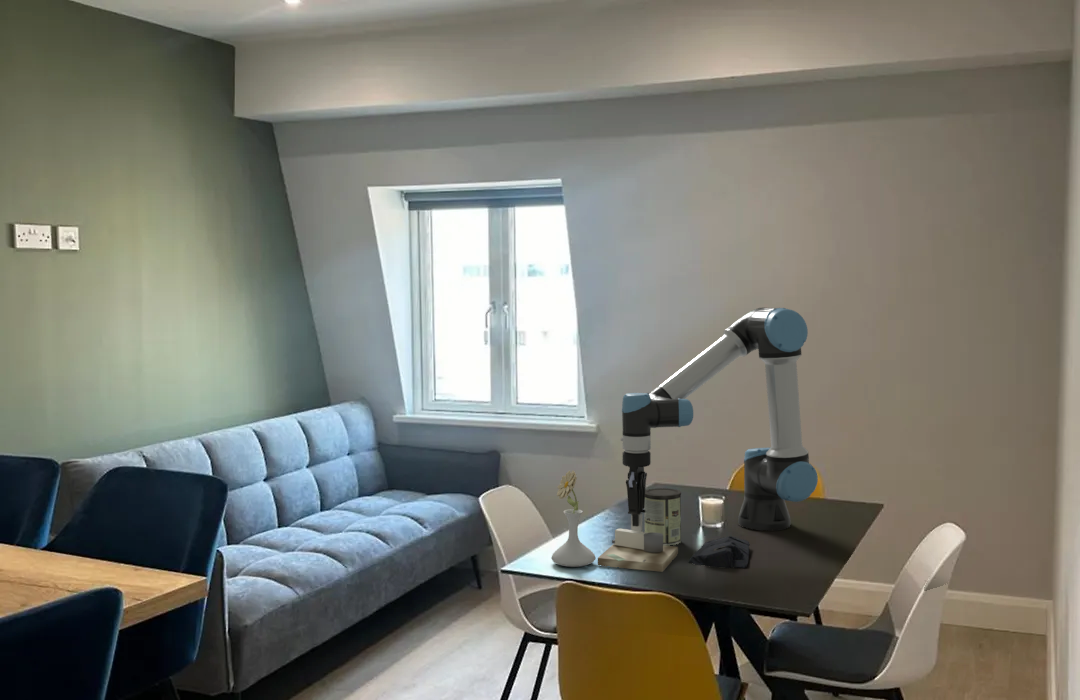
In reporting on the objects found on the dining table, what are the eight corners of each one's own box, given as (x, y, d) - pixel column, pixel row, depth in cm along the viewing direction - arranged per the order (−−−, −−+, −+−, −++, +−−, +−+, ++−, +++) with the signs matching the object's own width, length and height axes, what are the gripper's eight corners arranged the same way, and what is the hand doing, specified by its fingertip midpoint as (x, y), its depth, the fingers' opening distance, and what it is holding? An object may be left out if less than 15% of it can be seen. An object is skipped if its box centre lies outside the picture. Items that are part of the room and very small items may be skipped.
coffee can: (650, 535, 285) (650, 486, 284) (685, 539, 281) (685, 489, 280) (638, 544, 276) (638, 493, 275) (674, 548, 271) (674, 496, 270)
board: (677, 554, 265) (677, 546, 265) (661, 572, 248) (661, 564, 248) (616, 548, 271) (616, 541, 271) (596, 566, 254) (596, 558, 254)
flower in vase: (551, 558, 263) (550, 464, 261) (595, 558, 262) (594, 464, 261) (550, 572, 250) (549, 473, 248) (596, 572, 249) (595, 473, 248)
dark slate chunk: (758, 550, 270) (758, 532, 270) (745, 572, 250) (745, 553, 250) (702, 545, 276) (702, 528, 275) (685, 566, 255) (685, 548, 255)
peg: (666, 549, 261) (666, 534, 261) (657, 553, 257) (657, 538, 257) (617, 541, 270) (617, 526, 270) (608, 545, 266) (607, 530, 265)
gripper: (629, 446, 276) (629, 530, 277) (616, 453, 264) (616, 541, 265) (656, 447, 273) (656, 532, 275) (643, 455, 261) (644, 544, 262)
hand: (636, 537), depth 270 cm, fingers closed
